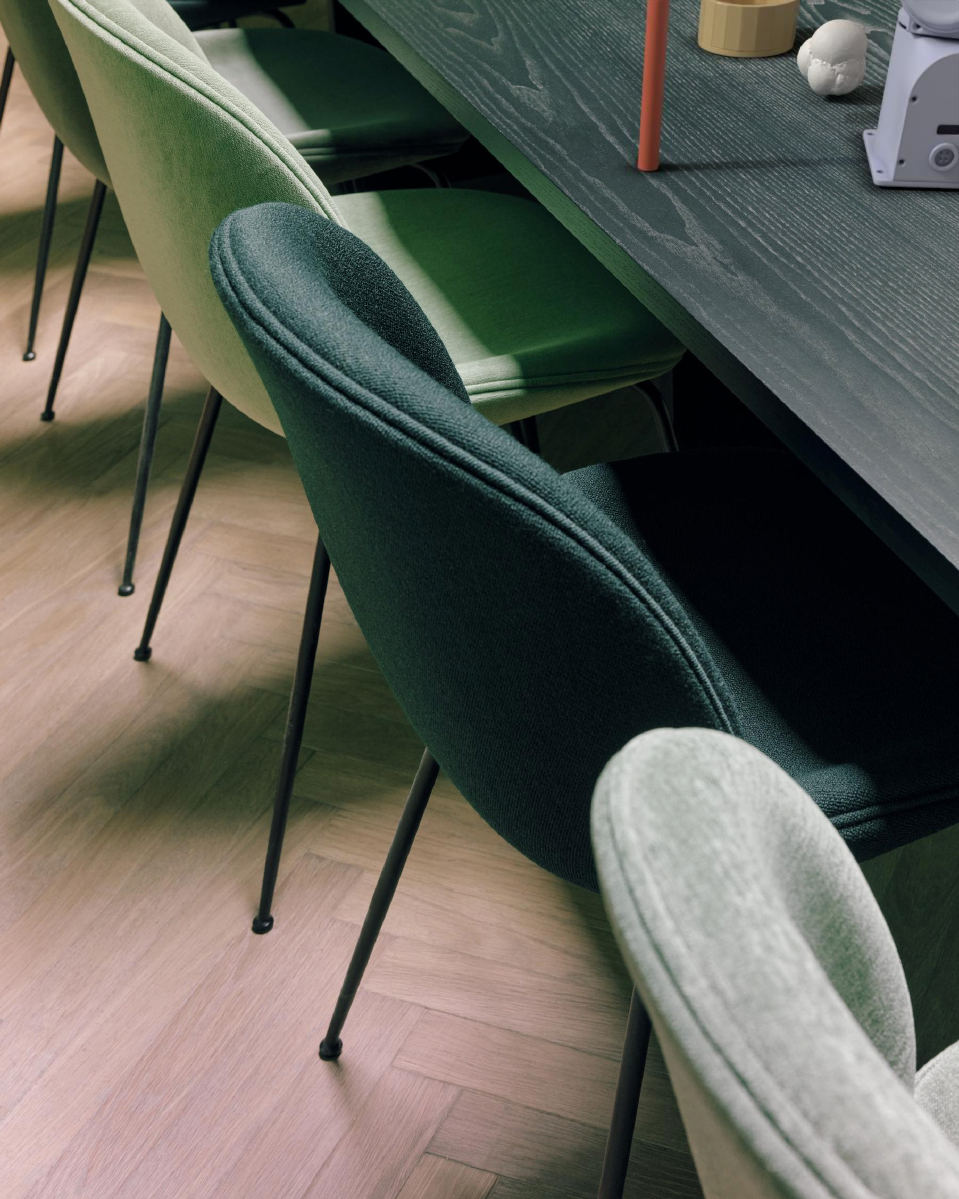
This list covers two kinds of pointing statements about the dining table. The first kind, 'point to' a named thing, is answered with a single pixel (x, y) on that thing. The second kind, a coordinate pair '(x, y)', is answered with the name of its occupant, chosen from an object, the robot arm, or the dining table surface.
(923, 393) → the dining table surface
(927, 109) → the robot arm
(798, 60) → the microfossil shell
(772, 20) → the tumbler
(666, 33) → the straw
